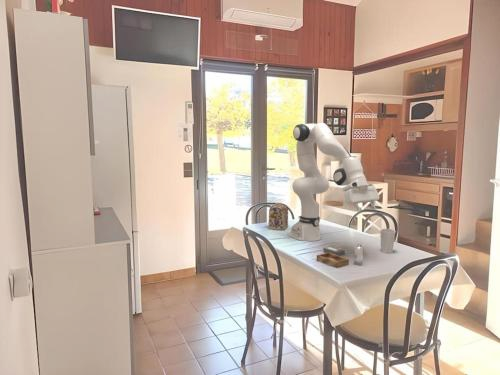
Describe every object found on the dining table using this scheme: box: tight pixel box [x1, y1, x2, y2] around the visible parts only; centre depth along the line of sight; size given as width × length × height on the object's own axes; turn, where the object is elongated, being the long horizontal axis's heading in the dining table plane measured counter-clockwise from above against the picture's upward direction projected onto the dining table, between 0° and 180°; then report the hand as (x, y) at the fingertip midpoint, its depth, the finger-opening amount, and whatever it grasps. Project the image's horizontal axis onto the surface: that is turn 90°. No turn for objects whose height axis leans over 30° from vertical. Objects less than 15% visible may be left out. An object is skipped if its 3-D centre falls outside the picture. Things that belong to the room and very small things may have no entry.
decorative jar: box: [268, 202, 289, 231], centre depth 260 cm, size 12×12×18 cm
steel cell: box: [353, 244, 364, 266], centre depth 186 cm, size 4×4×10 cm
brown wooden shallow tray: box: [316, 252, 350, 269], centre depth 188 cm, size 14×9×3 cm, turn 37°
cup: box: [379, 228, 397, 254], centre depth 208 cm, size 8×8×12 cm
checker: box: [322, 245, 346, 256], centre depth 204 cm, size 9×7×3 cm
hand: (366, 210), depth 190 cm, fingers open, 8 cm apart
